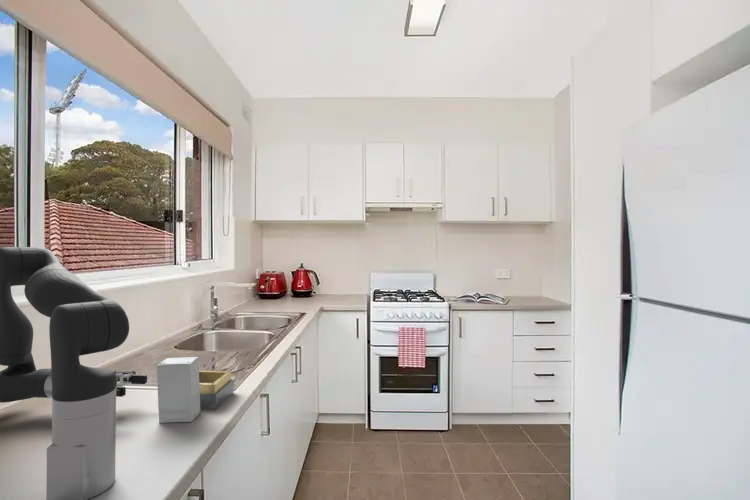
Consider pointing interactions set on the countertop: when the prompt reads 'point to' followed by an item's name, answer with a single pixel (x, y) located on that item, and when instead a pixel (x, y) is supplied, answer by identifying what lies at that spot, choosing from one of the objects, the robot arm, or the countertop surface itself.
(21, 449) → the countertop surface
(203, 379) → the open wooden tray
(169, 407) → the skincare box
